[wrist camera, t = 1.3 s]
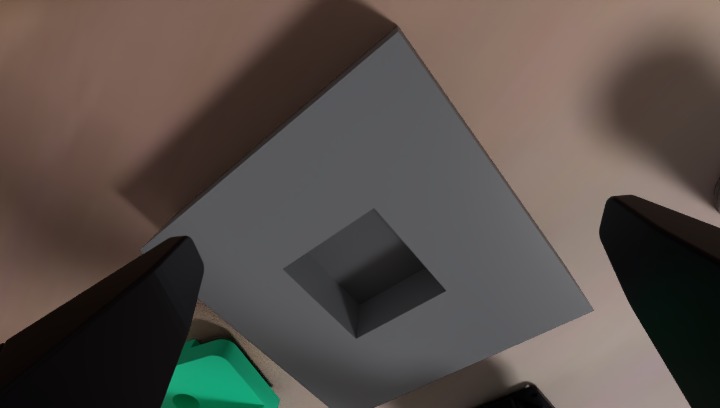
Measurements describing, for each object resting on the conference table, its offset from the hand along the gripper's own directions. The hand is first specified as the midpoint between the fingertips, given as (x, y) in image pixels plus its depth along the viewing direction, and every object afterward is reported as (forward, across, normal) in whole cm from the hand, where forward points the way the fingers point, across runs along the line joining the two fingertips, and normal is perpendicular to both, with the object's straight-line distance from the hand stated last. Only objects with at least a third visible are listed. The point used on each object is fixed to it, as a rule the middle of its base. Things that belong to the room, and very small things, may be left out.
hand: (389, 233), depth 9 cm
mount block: (+13, +2, +10) cm, 17 cm away
